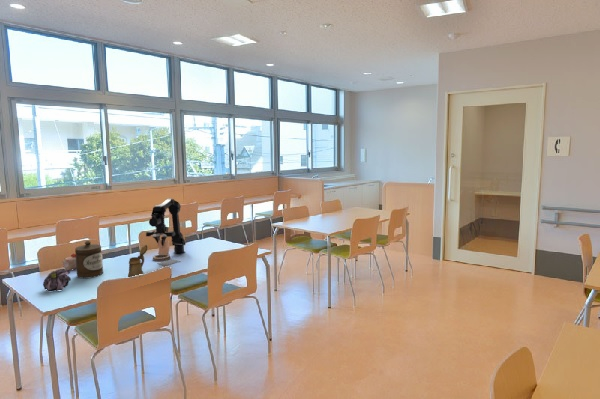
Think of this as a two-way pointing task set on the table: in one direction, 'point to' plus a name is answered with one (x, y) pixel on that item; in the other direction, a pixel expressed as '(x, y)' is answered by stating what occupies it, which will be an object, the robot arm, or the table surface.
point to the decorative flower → (57, 280)
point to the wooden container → (89, 260)
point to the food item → (70, 262)
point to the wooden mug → (137, 263)
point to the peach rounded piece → (163, 247)
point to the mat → (168, 262)
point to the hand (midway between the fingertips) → (161, 246)
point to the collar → (157, 258)
